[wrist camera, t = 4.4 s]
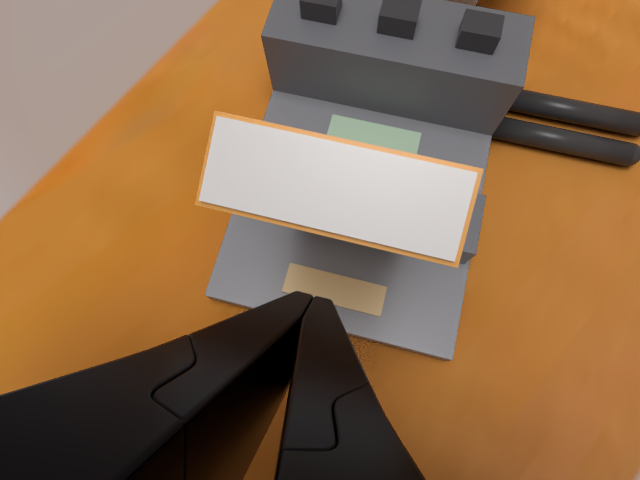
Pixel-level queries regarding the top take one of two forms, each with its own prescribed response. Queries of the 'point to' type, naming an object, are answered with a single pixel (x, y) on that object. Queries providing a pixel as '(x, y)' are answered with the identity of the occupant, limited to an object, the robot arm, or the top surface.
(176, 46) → the top surface
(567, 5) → the top surface
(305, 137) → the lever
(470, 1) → the light bulb
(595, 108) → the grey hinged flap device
